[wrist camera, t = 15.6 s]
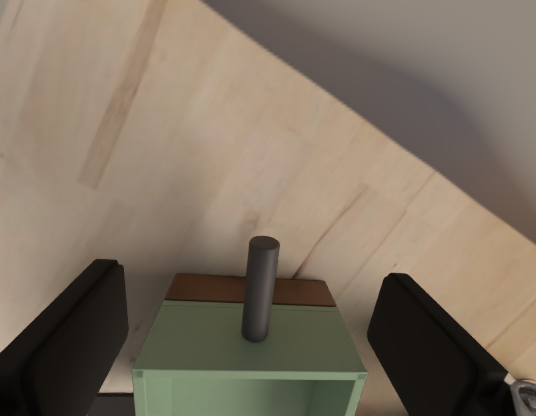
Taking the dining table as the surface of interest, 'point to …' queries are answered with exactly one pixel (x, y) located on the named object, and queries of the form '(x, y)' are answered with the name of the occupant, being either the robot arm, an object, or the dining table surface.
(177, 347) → the green scoop with handle
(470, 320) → the dining table surface
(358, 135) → the dining table surface
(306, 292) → the stand
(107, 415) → the mat
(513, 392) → the robot arm
